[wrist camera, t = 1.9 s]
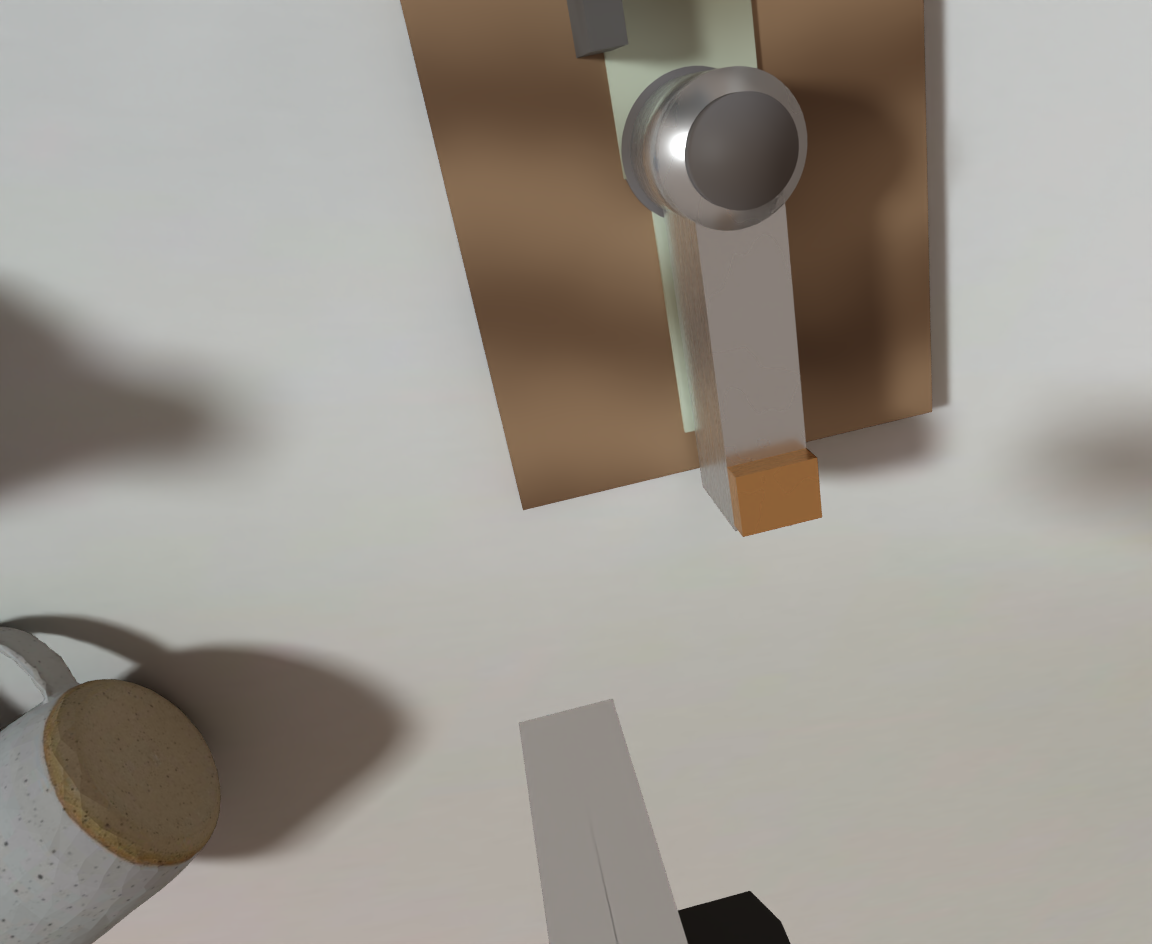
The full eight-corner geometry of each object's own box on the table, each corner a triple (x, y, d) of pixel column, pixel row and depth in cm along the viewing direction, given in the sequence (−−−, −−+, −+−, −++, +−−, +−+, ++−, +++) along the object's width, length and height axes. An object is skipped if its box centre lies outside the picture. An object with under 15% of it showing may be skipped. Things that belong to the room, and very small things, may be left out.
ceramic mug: (257, 749, 33) (205, 918, 26) (101, 865, 34) (9, 1059, 27) (28, 562, 29) (-108, 701, 22) (-142, 699, 30) (-326, 875, 23)
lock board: (310, -373, 21) (267, -545, 15) (893, -471, 22) (1044, -666, 16) (520, 498, 30) (539, 580, 25) (917, 403, 31) (1017, 462, 26)
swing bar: (619, 88, 24) (655, 82, 20) (753, 60, 25) (813, 49, 21) (682, 491, 30) (719, 548, 26) (791, 464, 30) (846, 517, 26)
